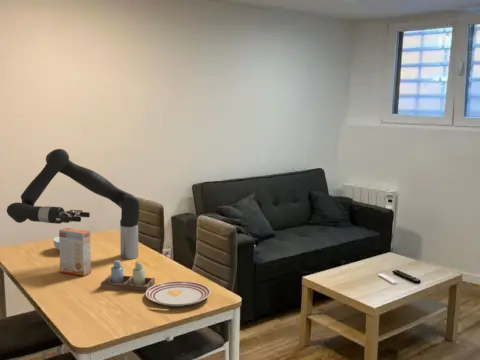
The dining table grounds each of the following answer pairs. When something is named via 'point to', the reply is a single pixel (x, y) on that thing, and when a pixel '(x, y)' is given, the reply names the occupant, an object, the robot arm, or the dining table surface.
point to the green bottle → (138, 274)
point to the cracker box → (75, 251)
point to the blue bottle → (117, 273)
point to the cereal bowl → (57, 242)
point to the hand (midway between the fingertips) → (85, 217)
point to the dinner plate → (188, 296)
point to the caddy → (127, 284)
